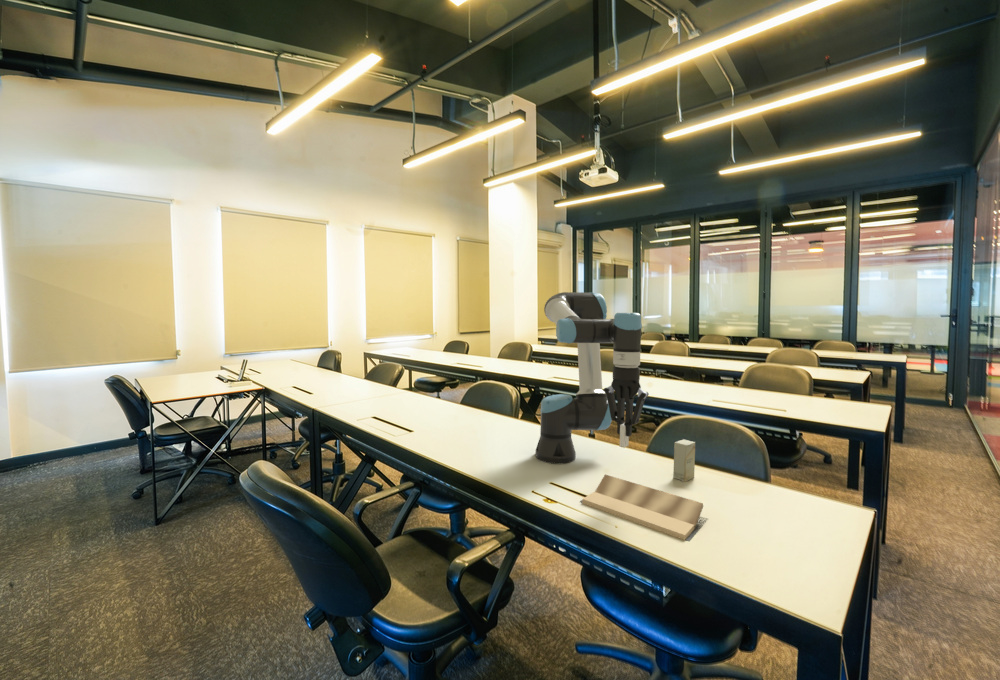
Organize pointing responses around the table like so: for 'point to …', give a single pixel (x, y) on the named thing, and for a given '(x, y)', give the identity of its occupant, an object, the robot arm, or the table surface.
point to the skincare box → (684, 460)
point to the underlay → (643, 516)
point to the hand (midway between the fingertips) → (624, 446)
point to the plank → (651, 499)
